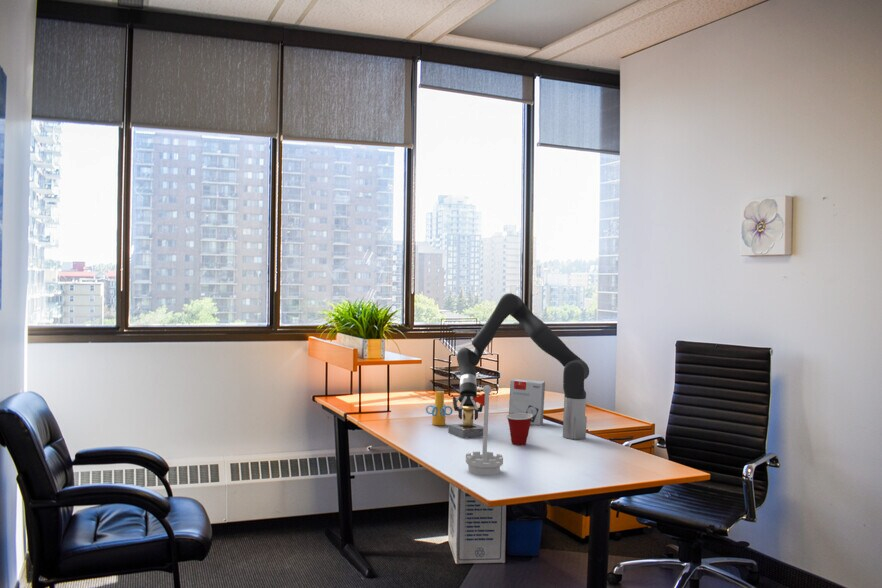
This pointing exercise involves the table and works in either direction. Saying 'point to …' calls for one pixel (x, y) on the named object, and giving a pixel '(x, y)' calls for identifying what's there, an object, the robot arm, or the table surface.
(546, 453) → the table surface
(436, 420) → the tube with loops
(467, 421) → the gold capped peg
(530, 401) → the hard drive box
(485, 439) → the flag stand
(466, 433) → the jig
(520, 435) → the plastic cup
